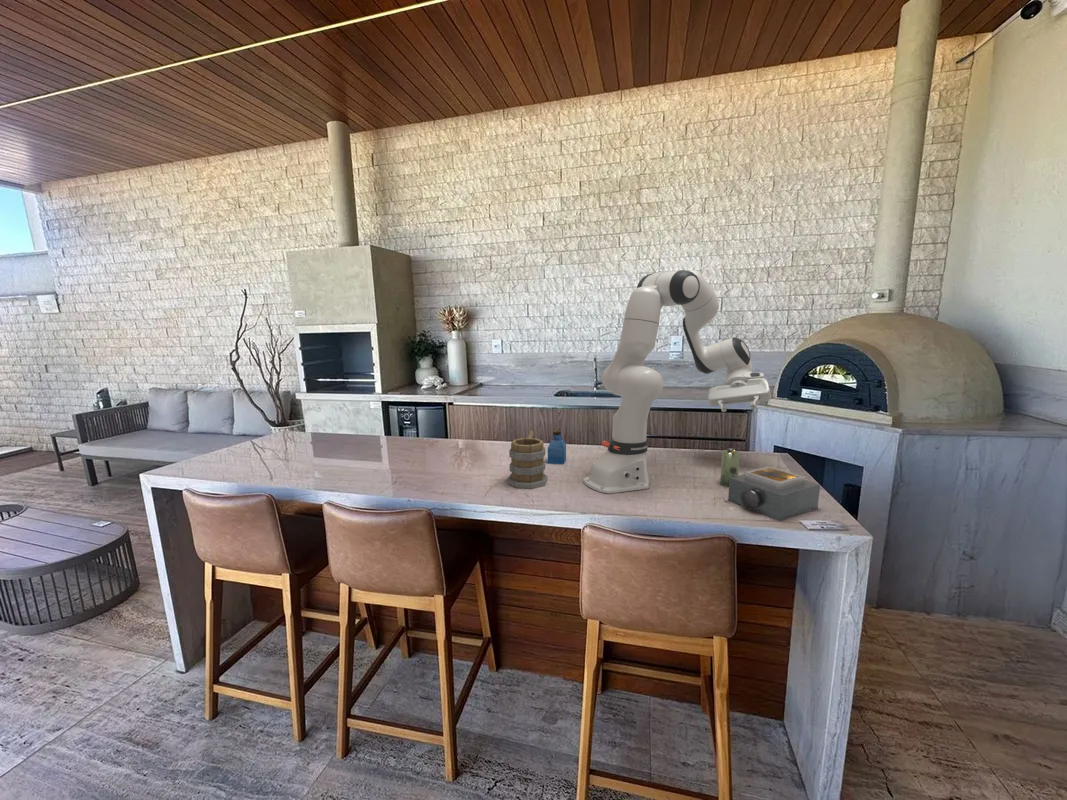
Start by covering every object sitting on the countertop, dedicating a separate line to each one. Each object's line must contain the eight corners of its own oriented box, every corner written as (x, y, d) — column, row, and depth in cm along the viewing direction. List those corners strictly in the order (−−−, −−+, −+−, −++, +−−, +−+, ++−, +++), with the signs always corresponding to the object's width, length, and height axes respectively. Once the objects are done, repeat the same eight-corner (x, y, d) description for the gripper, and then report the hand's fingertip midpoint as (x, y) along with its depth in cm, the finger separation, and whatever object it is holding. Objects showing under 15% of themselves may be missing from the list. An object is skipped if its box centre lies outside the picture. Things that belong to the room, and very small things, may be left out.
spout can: (718, 481, 146) (720, 445, 144) (734, 482, 145) (736, 445, 143) (723, 488, 140) (726, 450, 138) (740, 488, 139) (743, 450, 137)
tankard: (543, 489, 140) (543, 444, 137) (504, 487, 142) (504, 442, 140) (551, 470, 159) (551, 429, 157) (517, 468, 161) (517, 428, 159)
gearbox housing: (775, 522, 115) (777, 489, 114) (723, 501, 129) (725, 472, 127) (817, 508, 124) (820, 477, 122) (765, 490, 138) (767, 462, 136)
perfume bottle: (563, 464, 166) (563, 433, 164) (547, 463, 167) (547, 432, 165) (565, 459, 172) (566, 429, 170) (550, 459, 173) (550, 429, 171)
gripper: (707, 381, 164) (704, 405, 155) (768, 372, 153) (769, 398, 144) (711, 393, 167) (708, 418, 158) (771, 385, 156) (772, 412, 147)
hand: (738, 408), depth 151 cm, fingers open, 8 cm apart
